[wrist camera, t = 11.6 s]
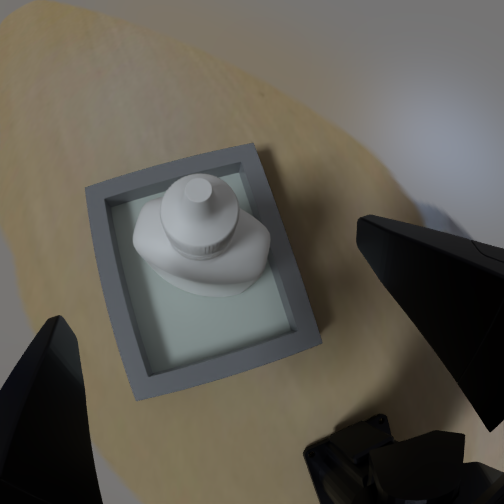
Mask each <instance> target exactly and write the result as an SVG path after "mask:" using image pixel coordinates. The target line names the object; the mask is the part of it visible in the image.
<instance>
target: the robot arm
mask: <svg viewBox="0 0 504 504" xmlns="http://www.w3.org/2000/svg"><path fill="white" fill-rule="evenodd" d="M356 243H357V246H358V248H359V250H360V251H361V253H362V254H363V256H364V257H365V259H366V260H367V262H368V263H369V265H370V266H371V268H372V269H373V271H374V272H375V274H376V275H377V277H378V278H379V280H380V281H381V282H382V284H383V285H384V286H385V288H386V289H387V290H388V291H389V293H390V294H391V295H392V296H393V298H394V299H395V300H396V301H397V303H398V304H399V305H400V306H401V308H402V309H403V310H404V312H405V313H406V314H407V315H408V317H409V318H410V319H411V321H412V322H413V323H414V324H415V326H416V327H417V328H418V330H419V331H420V332H421V334H422V335H423V336H424V338H425V339H426V340H427V342H428V343H429V344H430V346H431V347H432V348H433V350H434V351H435V352H436V354H437V355H438V357H439V358H440V359H441V361H442V362H443V364H444V365H445V366H446V368H447V369H448V371H449V372H450V373H451V375H452V376H453V378H454V379H455V381H456V382H458V383H457V384H458V385H459V387H460V388H461V390H462V391H463V393H464V394H465V396H466V397H467V399H468V400H469V402H470V403H471V405H472V406H473V408H474V409H475V411H476V412H477V414H478V415H479V417H480V419H481V420H482V422H483V423H484V425H485V427H486V428H487V429H488V431H489V432H491V431H493V430H494V429H495V428H496V427H497V426H498V425H499V424H500V423H501V422H502V421H503V420H504V249H503V248H499V247H495V246H491V245H488V244H484V243H481V242H477V241H474V240H471V241H470V240H469V239H466V238H463V237H459V236H455V235H452V234H448V233H444V232H440V231H436V230H433V229H429V228H425V227H421V226H417V225H413V224H409V223H405V222H400V221H396V220H392V219H388V218H383V217H379V216H375V215H366V216H363V217H360V218H359V219H358V221H357V236H356ZM381 418H382V421H381V422H380V423H379V420H380V419H381ZM464 446H465V434H462V433H454V432H446V431H439V430H435V431H432V432H429V433H426V434H423V435H420V436H417V437H414V438H411V439H408V440H404V441H401V442H398V441H396V440H394V438H393V436H391V432H390V428H389V423H388V419H387V416H386V415H384V414H377V415H375V416H373V417H372V418H370V419H368V420H366V421H360V422H358V423H356V424H354V425H352V426H350V427H348V428H345V429H343V430H341V431H339V432H337V433H335V434H332V435H331V436H330V437H329V438H328V439H326V440H324V441H321V442H319V443H317V444H314V445H312V446H309V447H307V448H306V449H305V450H304V452H303V456H304V459H305V462H306V465H307V468H308V471H309V474H310V477H311V479H312V482H313V485H314V488H315V491H316V494H317V497H318V499H319V502H320V504H504V472H501V471H499V470H496V469H494V468H492V467H489V466H487V465H485V464H483V463H480V462H469V463H463V458H464ZM312 451H313V452H314V453H313V454H312V455H311V456H308V454H309V453H310V452H312ZM0 504H103V502H102V498H101V493H100V489H99V484H98V479H97V474H96V469H95V464H94V458H93V452H92V446H91V439H90V432H89V424H88V415H87V406H86V395H85V386H84V380H83V374H82V368H81V362H80V355H79V348H78V341H77V338H76V336H75V334H74V333H73V331H72V330H71V328H70V327H69V325H68V324H67V322H66V321H65V319H64V318H63V317H62V316H60V315H58V316H54V317H51V318H49V319H48V320H47V321H46V322H45V324H44V325H43V326H42V328H41V329H40V331H39V332H38V333H37V335H36V336H35V338H34V339H33V341H32V342H31V343H30V345H29V346H28V348H27V349H26V351H25V352H24V354H23V355H22V357H21V358H20V360H19V361H18V363H17V365H16V366H15V367H14V369H13V370H12V372H11V374H10V375H9V377H8V379H7V380H6V382H5V383H4V385H3V386H2V388H1V390H0Z"/></svg>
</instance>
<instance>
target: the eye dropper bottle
mask: <svg viewBox="0 0 504 504" xmlns="http://www.w3.org/2000/svg"><path fill="white" fill-rule="evenodd" d="M168 188H169V189H168V190H166V193H165V194H164V196H163V197H159V198H156V199H152V200H150V201H148V202H147V203H145V204H144V206H143V207H142V209H141V211H140V213H139V216H138V219H137V222H136V226H135V229H134V234H133V245H134V247H135V249H136V251H137V252H138V253H139V255H140V256H141V257H142V258H143V259H144V260H145V261H146V262H147V263H148V264H149V265H150V266H151V267H152V269H153V270H154V271H155V272H156V273H157V274H158V275H160V276H161V277H162V278H163V279H164V280H166V281H167V282H169V283H170V284H172V285H173V286H175V287H177V288H179V289H181V290H184V291H186V292H189V293H192V294H195V295H200V296H206V297H229V296H235V295H239V294H241V293H242V292H244V291H245V290H246V289H248V288H249V287H250V286H251V285H252V284H253V283H255V282H256V281H257V280H258V279H259V278H260V276H261V275H262V273H263V271H264V269H265V266H266V262H267V258H268V253H269V248H270V241H271V239H270V233H269V231H268V230H267V228H266V227H265V226H264V225H263V224H262V223H261V222H260V221H258V220H257V219H256V218H254V217H253V216H252V215H250V214H249V213H247V212H246V211H244V210H242V209H241V208H239V205H238V204H239V202H238V201H237V199H238V198H237V197H236V194H235V193H234V191H233V190H232V188H231V187H229V185H228V184H227V182H224V180H221V179H220V178H217V176H213V175H209V174H205V173H204V174H202V173H200V174H198V173H196V174H192V175H188V176H184V177H182V178H181V179H178V180H177V181H176V182H174V184H171V187H168Z"/></svg>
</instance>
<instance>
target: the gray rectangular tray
mask: <svg viewBox="0 0 504 504" xmlns="http://www.w3.org/2000/svg"><path fill="white" fill-rule="evenodd" d="M196 173H198V174H200V173H202V174H204V173H205V174H209V175H213V176H217V178H220V179H221V180H224V182H227V184H228V185H229V187H231V188H232V190H233V191H234V193H235V194H236V197H237V198H238V199H237V201H238V202H239V204H238V205H239V208H241V209H242V210H244V211H246V212H247V213H249V214H250V215H252V216H253V217H254V218H256V219H257V220H258V221H260V222H261V223H262V224H263V225H264V226H265V227H266V228H267V230H268V231H269V233H270V239H271V241H270V248H269V253H268V258H267V262H266V266H265V269H264V271H263V273H262V275H261V276H260V278H259V279H258V280H257V281H256V282H255V283H253V284H252V285H251V286H250V287H249V288H248V289H246V290H245V291H244V292H242V293H241V294H239V295H235V296H229V297H206V296H200V295H195V294H192V293H189V292H186V291H184V290H181V289H179V288H177V287H175V286H173V285H172V284H170V283H169V282H167V281H166V280H164V279H163V278H162V277H161V276H160V275H158V274H157V273H156V272H155V271H154V270H153V269H152V267H151V266H150V265H149V264H148V263H147V262H146V261H145V260H144V259H143V258H142V257H141V256H140V255H139V253H138V252H137V251H136V249H135V247H134V245H133V234H134V229H135V226H136V222H137V219H138V216H139V213H140V211H141V209H142V207H143V206H144V204H145V203H147V202H148V201H150V200H152V199H156V198H159V197H163V196H164V194H165V193H166V190H168V189H169V188H168V187H171V184H174V182H176V181H177V180H178V179H181V178H182V177H184V176H188V175H192V174H196ZM85 193H86V201H87V208H88V215H89V222H90V228H91V234H92V240H93V246H94V251H95V256H96V261H97V266H98V271H99V276H100V280H101V285H102V289H103V294H104V298H105V302H106V306H107V310H108V314H109V317H110V321H111V325H112V328H113V332H114V336H115V339H116V342H117V346H118V349H119V352H120V356H121V359H122V362H123V365H124V368H125V371H126V374H127V377H128V380H129V383H130V386H131V388H132V391H133V394H134V397H135V399H136V401H139V400H143V399H148V398H152V397H156V396H160V395H164V394H168V393H172V392H176V391H180V390H183V389H187V388H191V387H194V386H198V385H202V384H205V383H209V382H212V381H215V380H219V379H222V378H225V377H228V376H232V375H235V374H238V373H241V372H244V371H247V370H250V369H253V368H256V367H259V366H262V365H265V364H268V363H271V362H274V361H277V360H279V359H282V358H285V357H288V356H290V355H293V354H296V353H299V352H301V351H304V350H306V349H309V348H312V347H314V346H317V345H319V344H322V339H321V336H320V333H319V330H318V327H317V324H316V320H315V317H314V314H313V311H312V308H311V305H310V302H309V299H308V296H307V293H306V290H305V287H304V284H303V281H302V278H301V275H300V272H299V269H298V266H297V263H296V260H295V257H294V254H293V251H292V248H291V245H290V242H289V240H288V237H287V234H286V231H285V228H284V225H283V222H282V220H281V217H280V214H279V211H278V208H277V206H276V203H275V200H274V197H273V194H272V192H271V189H270V186H269V183H268V181H267V178H266V175H265V173H264V170H263V167H262V165H261V162H260V159H259V157H258V154H257V151H256V149H255V146H254V143H250V144H245V145H240V146H235V147H230V148H226V149H221V150H217V151H212V152H208V153H204V154H199V155H195V156H191V157H187V158H183V159H179V160H175V161H172V162H168V163H164V164H160V165H157V166H153V167H150V168H146V169H142V170H139V171H136V172H132V173H129V174H126V175H122V176H119V177H116V178H113V179H110V180H106V181H103V182H100V183H97V184H94V185H91V186H88V187H85Z"/></svg>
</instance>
